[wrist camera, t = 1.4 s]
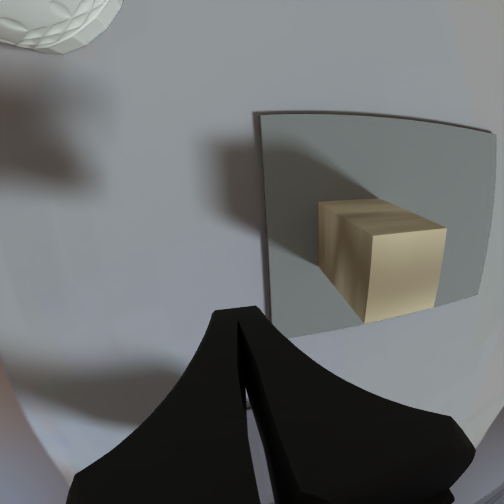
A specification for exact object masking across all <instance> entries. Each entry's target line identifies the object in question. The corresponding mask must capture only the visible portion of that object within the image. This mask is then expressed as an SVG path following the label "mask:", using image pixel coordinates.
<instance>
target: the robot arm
mask: <svg viewBox="0 0 504 504" xmlns="http://www.w3.org/2000/svg"><path fill="white" fill-rule="evenodd" d="M245 387H246V389H245ZM246 391H247V394H248V398H249V401H250V405H251V408H252V409H250V410H247V408H246ZM475 452H476V450H475V448H474V446H473V444H472V443H471V442H470V440H469V439H468V437H467V436H466V434H465V433H464V432H463V430H462V429H461V428H460V426H459V425H458V424H457V423H456V422H455V421H454V419H453V418H452V417H451V416H446V415H442V414H437V413H433V412H428V411H424V410H420V409H416V408H412V407H408V406H405V405H402V404H399V403H396V402H393V401H391V400H388V399H385V398H382V397H380V396H377V395H375V394H372V393H370V392H368V391H366V390H364V389H362V388H359V387H357V386H355V385H353V384H351V383H349V382H347V381H345V380H343V379H342V378H340V377H338V376H336V375H335V374H333V373H331V372H330V371H328V370H327V369H325V368H323V367H322V366H321V365H319V364H318V363H316V362H315V361H314V360H312V359H311V358H310V357H308V356H307V355H306V354H305V353H303V352H302V351H301V350H299V349H298V348H297V347H296V346H295V345H294V344H293V343H291V342H290V341H289V340H288V339H287V338H286V337H285V336H284V335H283V334H282V333H281V332H280V331H279V330H278V329H277V328H276V327H275V326H274V325H273V324H272V323H271V322H270V321H269V320H268V319H267V317H266V316H265V315H264V314H263V313H262V311H261V310H260V309H259V308H258V307H257V306H248V307H240V308H232V309H223V310H215V311H214V312H213V313H212V316H211V320H210V323H209V325H208V328H207V330H206V333H205V335H204V337H203V339H202V341H201V343H200V345H199V347H198V349H197V351H196V353H195V355H194V357H193V358H192V360H191V362H190V363H189V365H188V367H187V368H186V370H185V372H184V373H183V375H182V376H181V378H180V379H179V381H178V382H177V383H176V385H175V386H174V388H173V389H172V390H171V391H170V393H169V394H168V395H167V397H166V398H165V399H164V400H163V401H162V402H161V404H160V405H159V406H158V407H157V408H156V409H155V411H154V412H153V413H152V414H151V415H150V416H149V417H148V418H147V419H146V420H145V421H144V422H143V423H142V424H141V425H140V426H139V427H138V428H137V429H136V430H134V431H133V432H132V433H131V434H130V435H129V436H128V437H127V438H126V439H124V440H123V441H122V442H121V443H120V444H119V445H117V446H116V447H115V448H114V449H113V450H111V451H110V452H109V453H107V454H106V455H104V456H103V457H101V458H100V459H98V460H97V461H95V462H94V463H92V464H91V465H89V466H88V467H86V468H85V469H83V470H82V471H80V472H78V473H77V474H75V476H74V479H73V482H72V484H71V487H70V490H69V493H68V497H67V501H66V504H452V503H453V502H454V496H453V494H452V493H451V491H450V489H449V488H450V487H451V486H452V485H453V484H454V483H455V482H456V481H457V480H458V478H459V477H460V476H461V475H462V474H463V473H464V472H465V470H466V469H467V468H468V467H469V465H470V464H471V462H472V461H473V458H474V456H475ZM475 504H504V483H502V484H501V485H500V486H498V487H497V488H496V489H494V490H493V491H492V492H491V493H489V494H488V495H486V496H485V497H483V498H482V499H480V500H479V501H478V502H476V503H475Z"/></svg>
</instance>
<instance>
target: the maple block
mask: <svg viewBox="0 0 504 504" xmlns="http://www.w3.org/2000/svg"><path fill="white" fill-rule="evenodd" d="M446 232H447V228H446V227H443V226H441V225H439V224H437V223H435V222H433V221H430V220H428V219H426V218H424V217H422V216H419V215H417V214H415V213H412V212H410V211H408V210H406V209H403V208H401V207H398V206H396V205H394V204H391V203H389V202H386V201H384V200H382V199H379V198H374V199H355V200H339V201H324V202H318V267H319V268H320V269H321V271H322V272H323V273H324V274H325V276H326V277H327V278H328V279H329V280H330V282H331V283H332V284H333V285H334V287H335V288H336V289H337V290H338V291H339V293H340V294H341V295H342V296H343V298H344V299H345V300H346V301H347V303H348V304H349V305H350V306H351V308H352V309H353V310H354V311H355V313H356V314H357V315H358V316H359V318H360V319H361V320H362V322H363V323H364V324H366V323H370V322H375V321H379V320H384V319H388V318H393V317H397V316H401V315H405V314H409V313H413V312H417V311H421V310H425V309H429V308H432V307H434V303H435V298H436V293H437V289H438V283H439V278H440V273H441V267H442V261H443V254H444V247H445V240H446Z"/></svg>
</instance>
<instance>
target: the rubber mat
mask: <svg viewBox="0 0 504 504" xmlns="http://www.w3.org/2000/svg"><path fill="white" fill-rule="evenodd" d="M260 130H261V145H262V161H263V177H264V193H265V210H266V228H267V247H268V266H269V286H270V308H271V323H272V324H273V325H274V326H275V327H276V328H277V329H278V330H279V331H280V332H281V333H282V334H283V335H284V336H285V337H286V338H292V337H298V336H304V335H310V334H316V333H321V332H327V331H332V330H338V329H343V328H348V327H353V326H358V325H362V324H364V323H363V322H362V320H361V319H360V318H359V316H358V315H357V314H356V313H355V311H354V310H353V309H352V308H351V306H350V305H349V304H348V303H347V301H346V300H345V299H344V298H343V296H342V295H341V294H340V293H339V291H338V290H337V289H336V288H335V287H334V285H333V284H332V283H331V282H330V280H329V279H328V278H327V277H326V276H325V274H324V273H323V272H322V271H321V269H320V268H319V267H318V202H324V201H339V200H355V199H374V198H379V199H382V200H384V201H386V202H389V203H391V204H394V205H396V206H398V207H401V208H403V209H406V210H408V211H410V212H412V213H415V214H417V215H419V216H422V217H424V218H426V219H428V220H430V221H433V222H435V223H437V224H439V225H441V226H443V227H446V228H447V232H446V240H445V247H444V254H443V261H442V267H441V273H440V278H439V283H438V289H437V293H436V298H435V303H434V307H437V306H441V305H444V304H448V303H451V302H455V301H458V300H462V299H465V298H468V297H471V296H475V295H477V294H478V290H479V286H480V282H481V278H482V273H483V268H484V263H485V258H486V253H487V247H488V242H489V235H490V229H491V221H492V213H493V204H494V193H495V179H496V134H491V133H487V132H482V131H477V130H472V129H467V128H461V127H456V126H450V125H443V124H437V123H430V122H422V121H414V120H406V119H396V118H385V117H373V116H357V115H333V114H277V115H260ZM432 308H433V307H432ZM429 309H430V308H429ZM425 310H426V309H425ZM421 311H422V310H421ZM417 312H418V311H417ZM413 313H414V312H413ZM409 314H410V313H409ZM405 315H406V314H405ZM401 316H402V315H401ZM397 317H398V316H397ZM393 318H394V317H393ZM388 319H389V318H388ZM384 320H385V319H384ZM379 321H381V320H379ZM375 322H376V321H375ZM370 323H372V322H370ZM366 324H367V323H366Z"/></svg>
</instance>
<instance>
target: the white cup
mask: <svg viewBox="0 0 504 504" xmlns="http://www.w3.org/2000/svg"><path fill="white" fill-rule="evenodd" d="M122 2H123V0H0V42H2V43H7V44H11V45H14V46H18V47H23V48H30V49H33V50H35V51H38V52H41V53H45V54H65V53H68V52H70V51H73V50H75V49H78V48H80V47H83V46H86V45H87V44H88V43H89V42H91V41H92V40H93V39H94V38H96V37H97V36H98V35H99V34H101V33H102V32H103V31H105V30H106V29H107V28H108V26H109V25H110V23H111V22H112V21H113V19H114V18H115V16H116V15H117V13H118V12H119V11H120V9H121V7H122Z"/></svg>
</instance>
